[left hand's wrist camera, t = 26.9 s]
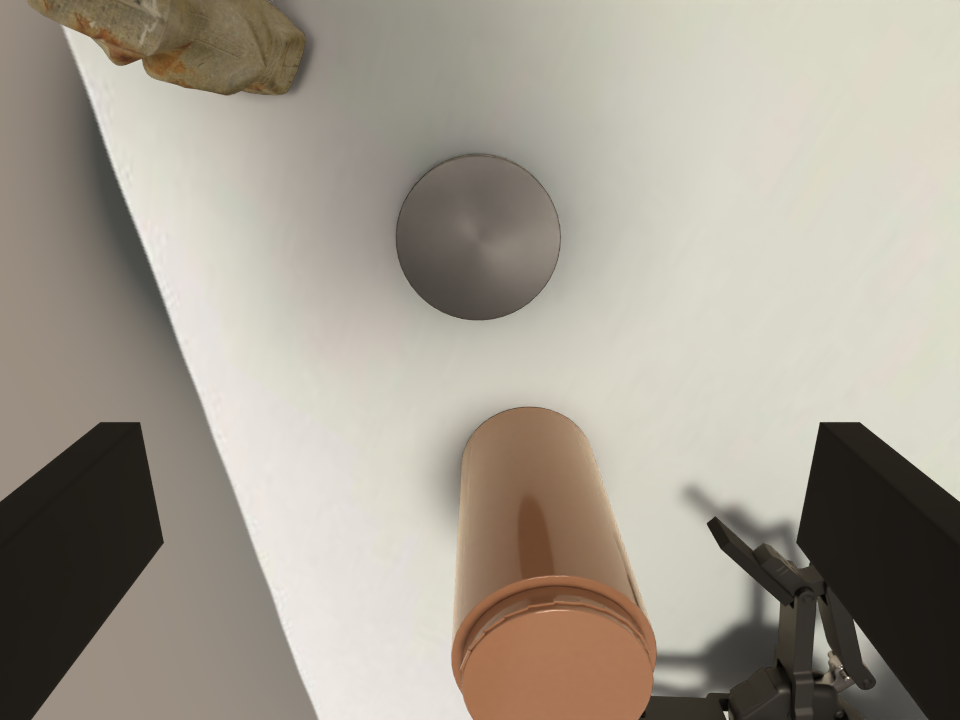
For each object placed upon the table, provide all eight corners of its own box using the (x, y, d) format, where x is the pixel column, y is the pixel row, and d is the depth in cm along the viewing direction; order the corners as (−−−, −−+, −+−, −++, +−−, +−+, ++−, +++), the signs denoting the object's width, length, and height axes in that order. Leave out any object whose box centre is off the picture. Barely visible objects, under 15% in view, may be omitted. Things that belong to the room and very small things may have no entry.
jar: (613, 429, 46) (701, 632, 28) (565, 537, 49) (615, 784, 31) (486, 390, 45) (490, 574, 27) (444, 503, 48) (423, 737, 30)
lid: (369, 257, 42) (365, 262, 40) (456, 119, 39) (455, 119, 37) (498, 340, 44) (498, 349, 42) (589, 215, 41) (594, 219, 39)
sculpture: (209, -45, 36) (34, -152, 22) (330, 25, 37) (238, -33, 23) (173, 57, 38) (-11, 20, 24) (289, 121, 39) (180, 122, 25)
